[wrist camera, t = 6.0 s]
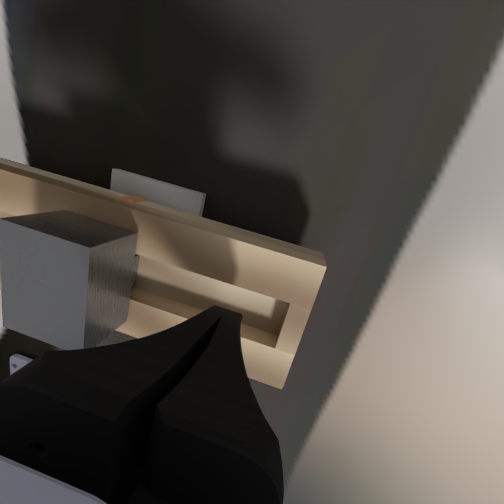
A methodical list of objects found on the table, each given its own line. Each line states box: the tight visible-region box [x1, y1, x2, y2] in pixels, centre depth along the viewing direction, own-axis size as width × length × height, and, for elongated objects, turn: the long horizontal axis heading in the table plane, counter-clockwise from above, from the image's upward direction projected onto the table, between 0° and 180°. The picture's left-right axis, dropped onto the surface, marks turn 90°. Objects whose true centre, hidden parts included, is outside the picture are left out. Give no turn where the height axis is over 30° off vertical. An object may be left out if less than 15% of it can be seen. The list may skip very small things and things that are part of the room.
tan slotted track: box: [0, 158, 327, 389], centre depth 16 cm, size 9×21×4 cm, turn 75°
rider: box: [0, 210, 140, 350], centre depth 13 cm, size 5×4×4 cm
